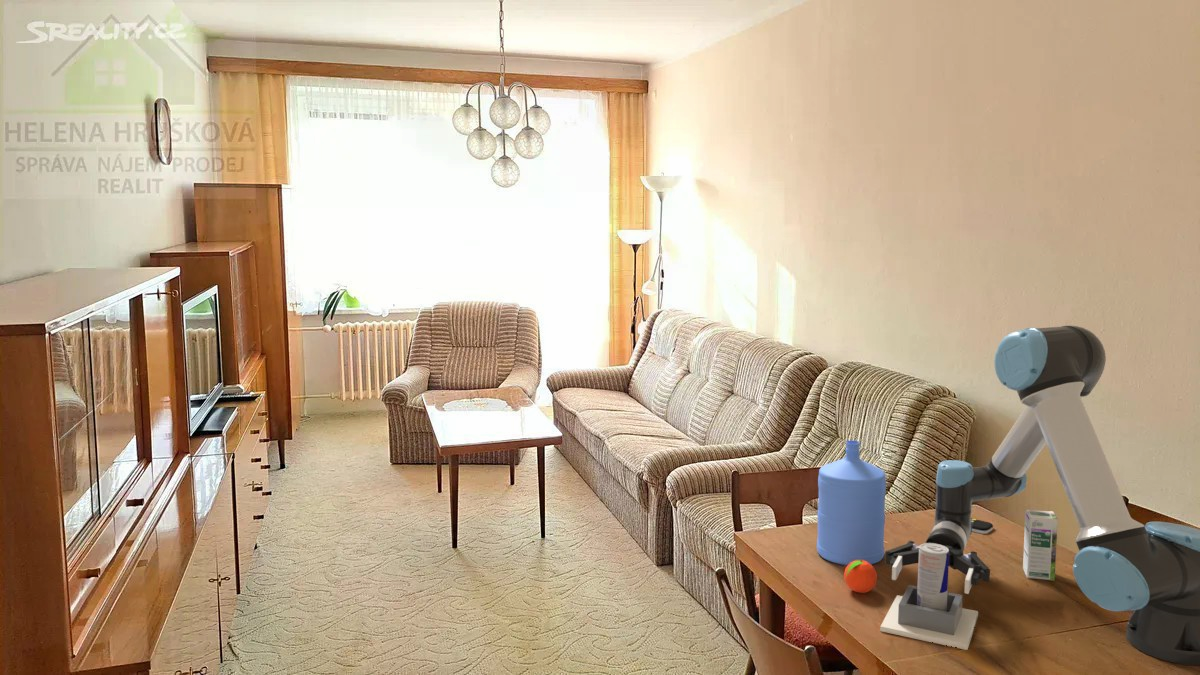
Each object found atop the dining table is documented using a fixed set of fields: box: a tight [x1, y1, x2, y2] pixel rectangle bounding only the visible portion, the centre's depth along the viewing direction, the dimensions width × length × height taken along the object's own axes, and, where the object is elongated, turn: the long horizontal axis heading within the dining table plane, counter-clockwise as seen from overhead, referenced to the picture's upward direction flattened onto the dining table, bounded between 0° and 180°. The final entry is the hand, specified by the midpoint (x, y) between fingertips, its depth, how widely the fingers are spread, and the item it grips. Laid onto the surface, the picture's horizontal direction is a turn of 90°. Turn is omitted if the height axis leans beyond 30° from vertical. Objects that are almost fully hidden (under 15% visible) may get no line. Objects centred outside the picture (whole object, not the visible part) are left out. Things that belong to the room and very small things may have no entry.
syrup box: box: [1022, 509, 1059, 582], centre depth 194 cm, size 6×6×14 cm
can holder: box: [879, 584, 979, 651], centre depth 173 cm, size 16×16×5 cm
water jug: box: [816, 440, 887, 566], centre depth 207 cm, size 16×16×28 cm
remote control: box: [971, 517, 994, 535], centre depth 227 cm, size 6×13×2 cm, turn 45°
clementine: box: [843, 560, 878, 594], centre depth 187 cm, size 8×7×7 cm
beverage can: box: [917, 542, 950, 612], centre depth 172 cm, size 6×6×15 cm
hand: (929, 580), depth 170 cm, fingers open, 13 cm apart
